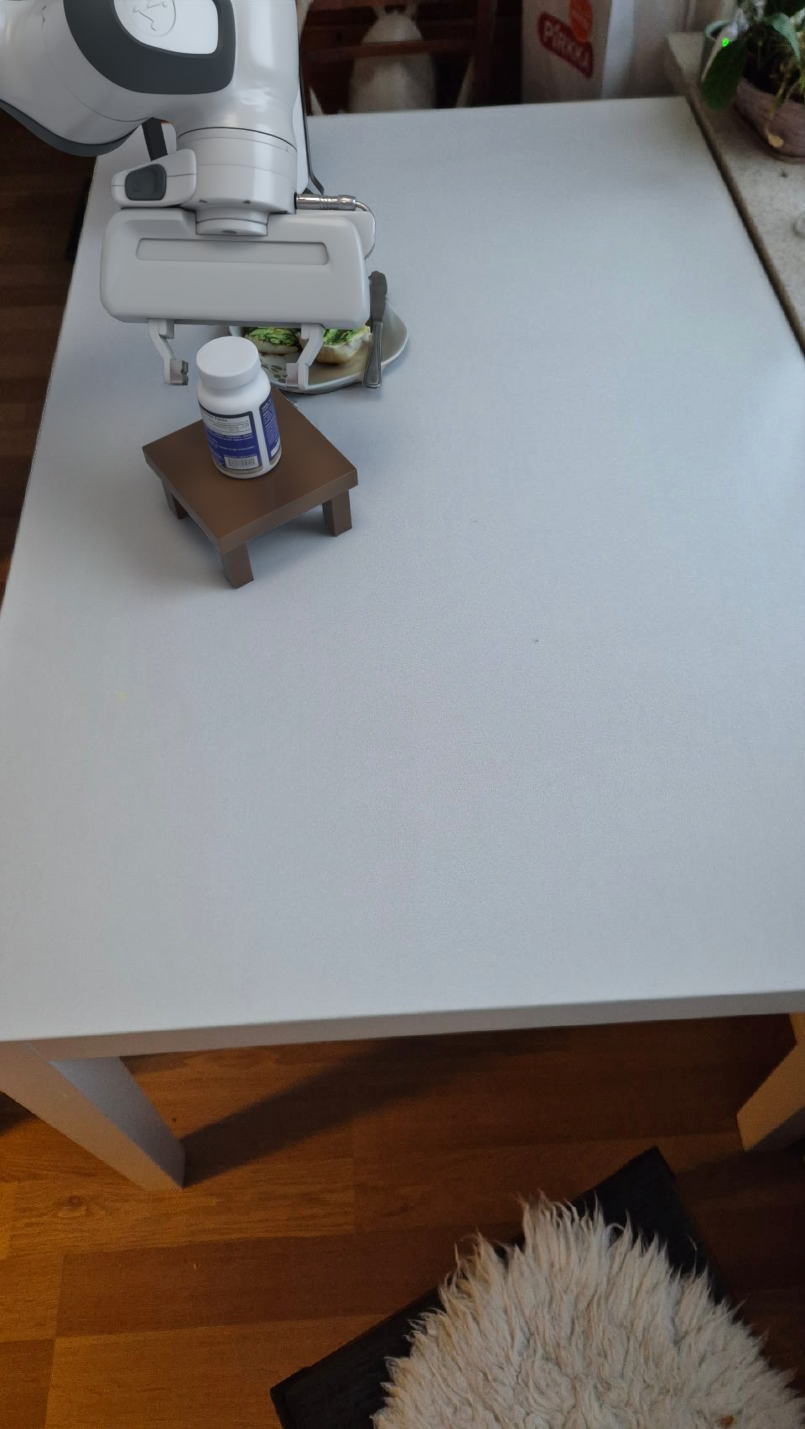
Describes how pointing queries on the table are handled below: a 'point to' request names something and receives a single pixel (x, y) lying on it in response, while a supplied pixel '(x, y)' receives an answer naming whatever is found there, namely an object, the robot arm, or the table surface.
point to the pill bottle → (237, 408)
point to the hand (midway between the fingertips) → (236, 387)
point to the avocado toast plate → (335, 347)
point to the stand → (254, 486)
